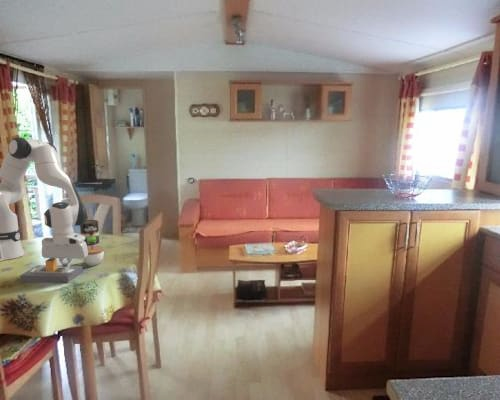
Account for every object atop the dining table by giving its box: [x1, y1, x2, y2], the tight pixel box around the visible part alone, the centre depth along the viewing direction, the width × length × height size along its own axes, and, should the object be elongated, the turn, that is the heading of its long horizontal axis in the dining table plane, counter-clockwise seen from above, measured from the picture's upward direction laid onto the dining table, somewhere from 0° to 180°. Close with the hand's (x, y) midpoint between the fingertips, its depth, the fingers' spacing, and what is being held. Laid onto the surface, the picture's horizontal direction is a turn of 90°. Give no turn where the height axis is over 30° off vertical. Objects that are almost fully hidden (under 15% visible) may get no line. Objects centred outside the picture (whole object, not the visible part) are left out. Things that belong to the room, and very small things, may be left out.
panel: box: [19, 264, 84, 284], centre depth 171 cm, size 22×13×4 cm, turn 87°
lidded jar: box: [82, 245, 105, 267], centre depth 187 cm, size 11×11×9 cm
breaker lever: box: [45, 258, 58, 271], centre depth 170 cm, size 3×4×5 cm
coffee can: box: [79, 219, 101, 247], centre depth 219 cm, size 10×10×14 cm
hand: (66, 266), depth 170 cm, fingers closed
